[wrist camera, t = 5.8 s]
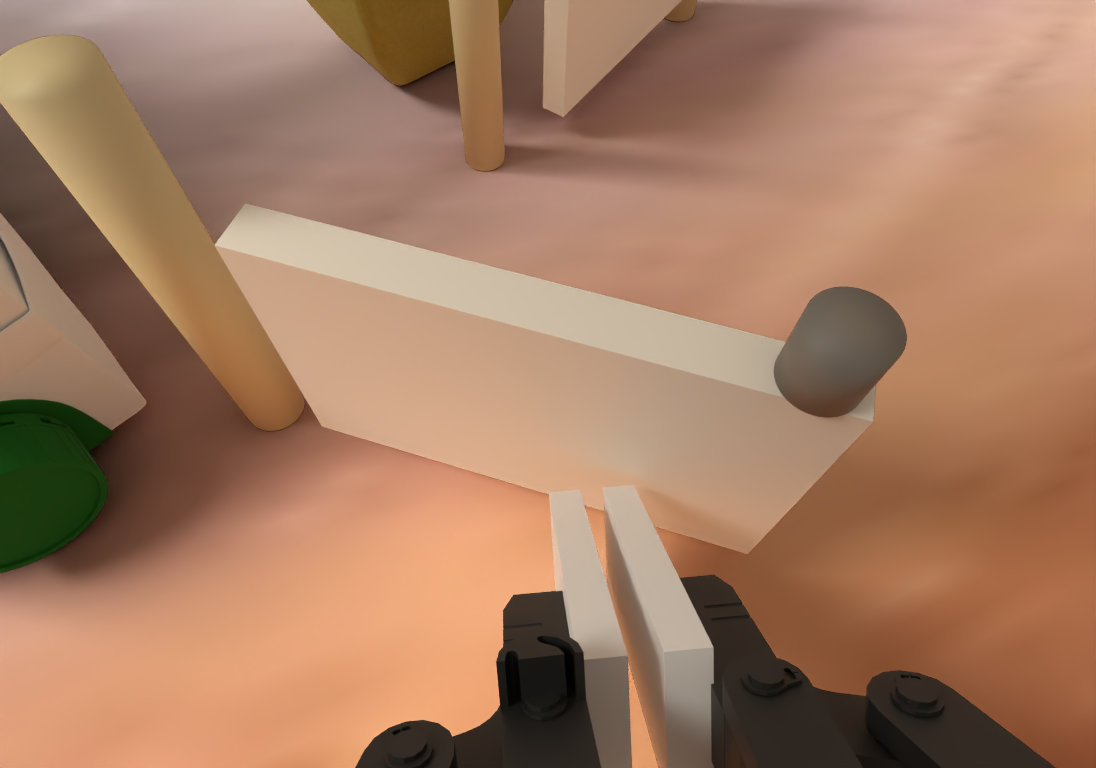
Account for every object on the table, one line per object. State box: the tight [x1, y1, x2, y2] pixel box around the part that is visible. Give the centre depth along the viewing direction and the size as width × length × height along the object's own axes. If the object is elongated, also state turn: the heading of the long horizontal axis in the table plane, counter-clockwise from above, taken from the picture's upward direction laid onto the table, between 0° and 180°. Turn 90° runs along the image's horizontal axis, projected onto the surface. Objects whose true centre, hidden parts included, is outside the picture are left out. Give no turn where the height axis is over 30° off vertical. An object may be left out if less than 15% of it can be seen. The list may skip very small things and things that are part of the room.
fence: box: [0, 0, 697, 431], centre depth 23 cm, size 28×3×12 cm, turn 146°
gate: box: [214, 203, 907, 554], centre depth 16 cm, size 13×2×10 cm, turn 73°
